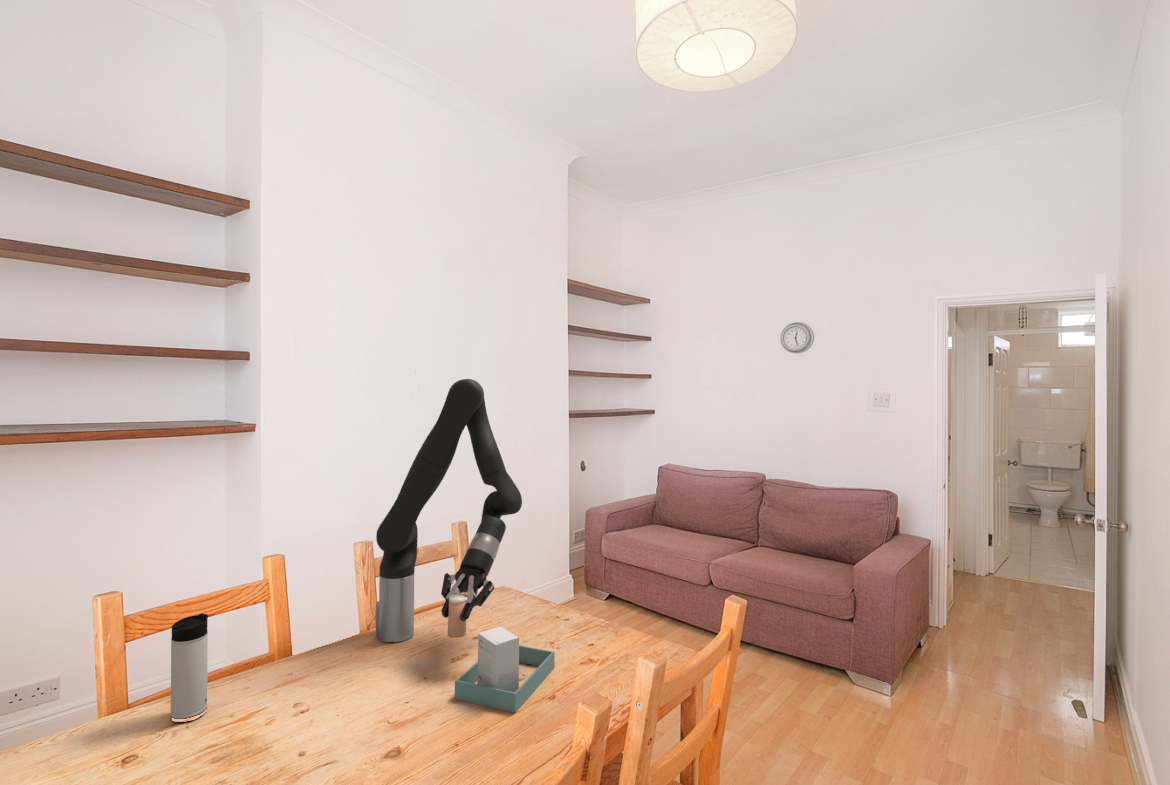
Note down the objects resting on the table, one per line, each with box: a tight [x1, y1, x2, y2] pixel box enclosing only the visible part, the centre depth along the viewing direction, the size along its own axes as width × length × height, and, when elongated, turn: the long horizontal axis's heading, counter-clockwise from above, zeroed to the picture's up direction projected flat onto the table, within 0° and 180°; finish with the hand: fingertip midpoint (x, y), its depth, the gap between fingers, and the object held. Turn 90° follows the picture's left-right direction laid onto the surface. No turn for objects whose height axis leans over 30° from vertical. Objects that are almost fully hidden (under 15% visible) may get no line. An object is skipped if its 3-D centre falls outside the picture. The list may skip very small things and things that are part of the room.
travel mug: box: [170, 612, 209, 719], centre depth 120 cm, size 6×7×20 cm
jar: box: [447, 593, 468, 639], centre depth 141 cm, size 4×4×9 cm
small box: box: [476, 626, 520, 692], centre depth 131 cm, size 8×6×13 cm
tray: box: [454, 644, 556, 713], centre depth 135 cm, size 15×21×4 cm
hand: (453, 617), depth 139 cm, fingers closed on jar, 4 cm apart
